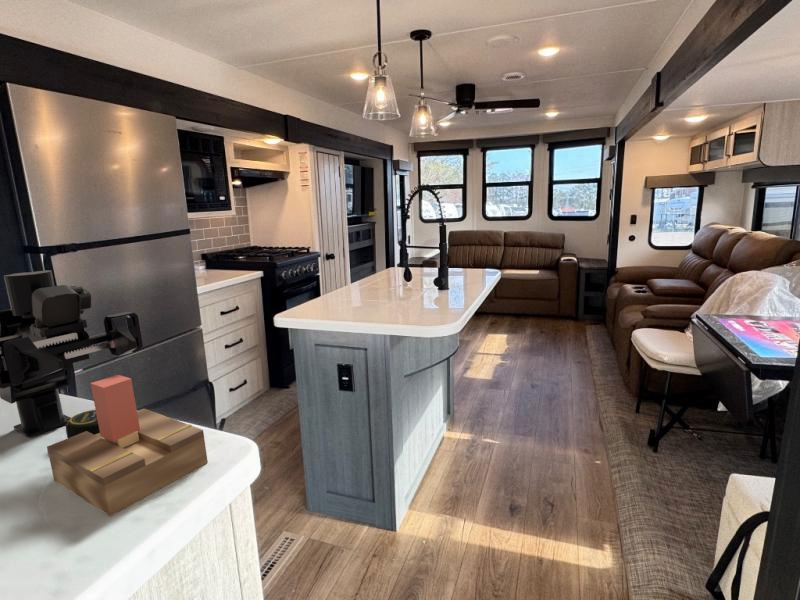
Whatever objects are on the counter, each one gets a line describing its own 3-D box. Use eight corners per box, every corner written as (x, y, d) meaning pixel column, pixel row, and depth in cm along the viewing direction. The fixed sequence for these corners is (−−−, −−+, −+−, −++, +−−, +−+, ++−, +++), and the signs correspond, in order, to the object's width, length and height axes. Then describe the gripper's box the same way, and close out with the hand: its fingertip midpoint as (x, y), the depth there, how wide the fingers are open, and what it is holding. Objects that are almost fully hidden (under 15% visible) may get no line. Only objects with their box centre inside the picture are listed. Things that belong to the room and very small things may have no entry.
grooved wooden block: (54, 480, 61) (46, 445, 60) (149, 437, 72) (144, 407, 71) (110, 516, 53) (102, 477, 52) (207, 462, 64) (203, 429, 63)
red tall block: (101, 443, 62) (89, 382, 60) (127, 432, 65) (117, 374, 63) (116, 451, 60) (104, 388, 58) (142, 439, 63) (132, 379, 61)
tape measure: (112, 443, 71) (108, 421, 70) (61, 452, 69) (56, 429, 68) (123, 424, 77) (120, 404, 77) (77, 431, 75) (73, 411, 75)
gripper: (-45, 299, 60) (-1, 310, 52) (105, 278, 75) (158, 283, 67) (-26, 379, 62) (20, 401, 54) (116, 342, 77) (169, 355, 69)
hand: (100, 354), depth 61 cm, fingers open, 9 cm apart
